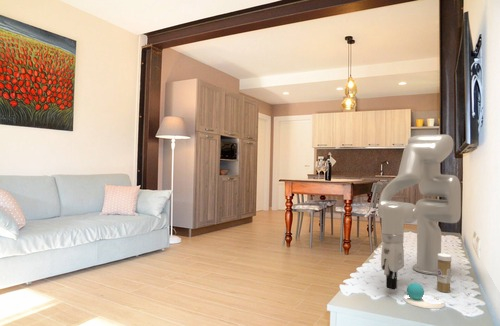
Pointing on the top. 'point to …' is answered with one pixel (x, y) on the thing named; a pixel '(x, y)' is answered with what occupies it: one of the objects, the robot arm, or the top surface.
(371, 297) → the top surface
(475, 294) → the top surface
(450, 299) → the top surface
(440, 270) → the sprinkles bottle
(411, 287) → the ball
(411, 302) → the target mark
